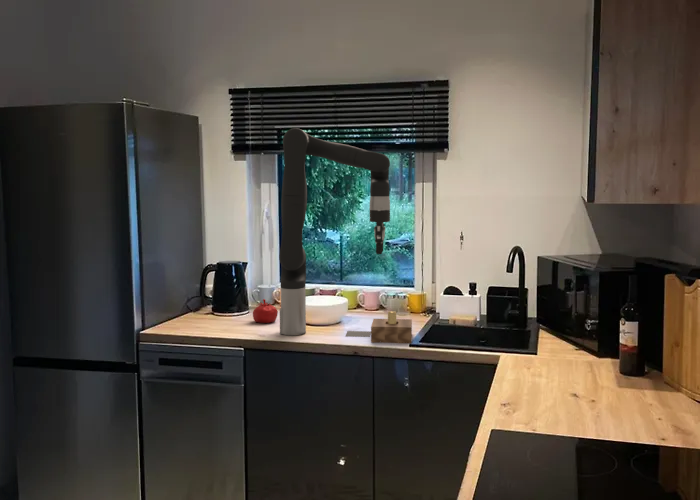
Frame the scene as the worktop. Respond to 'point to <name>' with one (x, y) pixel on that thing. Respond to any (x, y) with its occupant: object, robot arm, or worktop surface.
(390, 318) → the peg
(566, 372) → the worktop surface
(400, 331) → the hole block
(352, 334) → the mat
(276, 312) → the pomegranate
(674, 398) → the worktop surface
